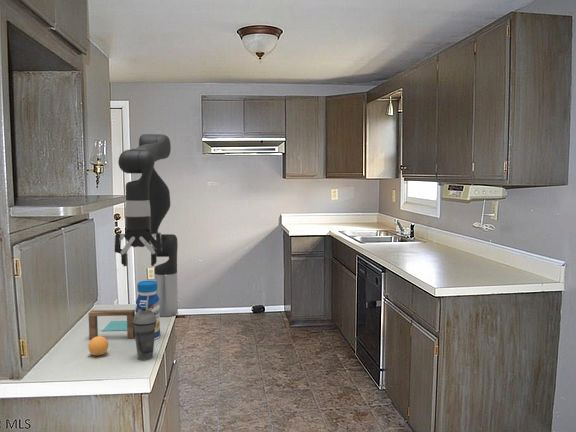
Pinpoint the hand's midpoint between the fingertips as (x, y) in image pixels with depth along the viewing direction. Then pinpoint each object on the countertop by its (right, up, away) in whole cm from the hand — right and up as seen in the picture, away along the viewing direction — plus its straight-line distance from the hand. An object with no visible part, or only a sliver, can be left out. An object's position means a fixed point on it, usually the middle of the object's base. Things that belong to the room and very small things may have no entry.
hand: (139, 265), depth 152 cm
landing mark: (-16, -26, +32) cm, 44 cm away
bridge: (-15, -28, +18) cm, 36 cm away
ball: (-14, -26, +2) cm, 29 cm away
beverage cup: (+2, -29, 0) cm, 29 cm away
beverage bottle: (-2, -28, +19) cm, 33 cm away
